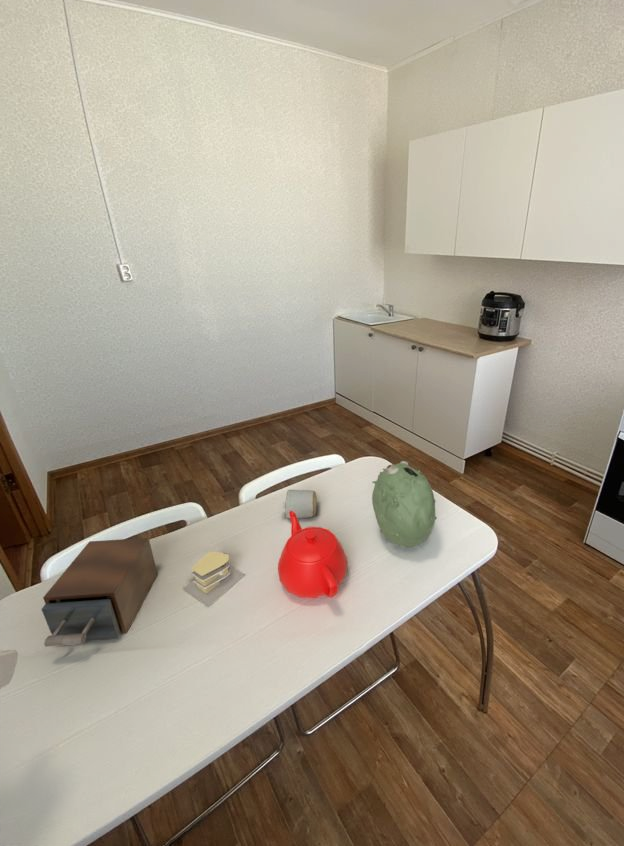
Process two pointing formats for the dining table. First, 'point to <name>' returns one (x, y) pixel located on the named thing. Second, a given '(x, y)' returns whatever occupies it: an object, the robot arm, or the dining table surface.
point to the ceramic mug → (301, 503)
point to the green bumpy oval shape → (404, 505)
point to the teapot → (311, 562)
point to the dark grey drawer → (81, 620)
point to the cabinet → (110, 576)
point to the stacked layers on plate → (212, 577)
